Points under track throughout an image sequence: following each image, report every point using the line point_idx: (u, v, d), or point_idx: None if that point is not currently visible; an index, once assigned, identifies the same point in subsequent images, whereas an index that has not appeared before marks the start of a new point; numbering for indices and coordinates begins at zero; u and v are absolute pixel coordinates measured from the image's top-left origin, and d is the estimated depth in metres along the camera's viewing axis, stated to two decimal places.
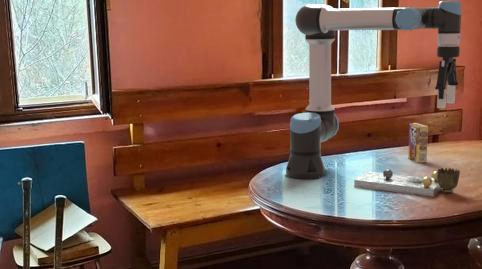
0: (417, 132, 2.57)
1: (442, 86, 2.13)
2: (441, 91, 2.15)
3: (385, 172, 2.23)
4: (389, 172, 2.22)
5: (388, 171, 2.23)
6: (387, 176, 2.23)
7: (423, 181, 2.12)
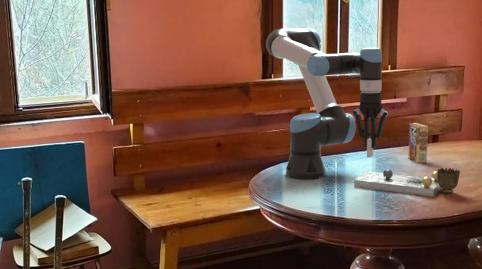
0: (417, 132, 2.57)
1: None
2: None
3: (385, 172, 2.23)
4: (389, 172, 2.22)
5: (388, 171, 2.23)
6: (387, 176, 2.23)
7: (423, 181, 2.12)
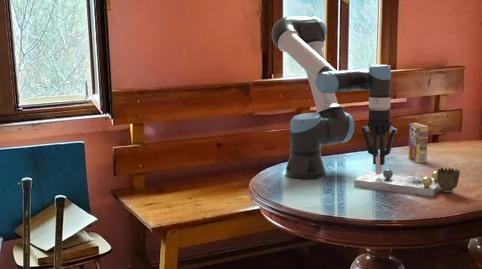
0: (417, 132, 2.57)
1: None
2: None
3: (385, 172, 2.23)
4: (389, 172, 2.22)
5: (388, 171, 2.23)
6: (387, 176, 2.23)
7: (423, 181, 2.12)
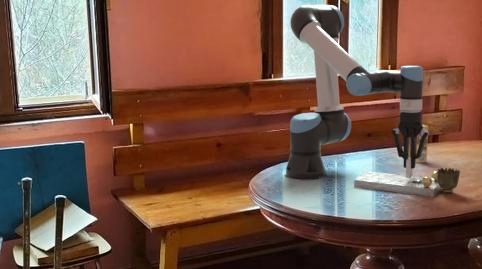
0: None
1: None
2: None
3: None
4: None
5: None
6: None
7: (423, 181, 2.12)
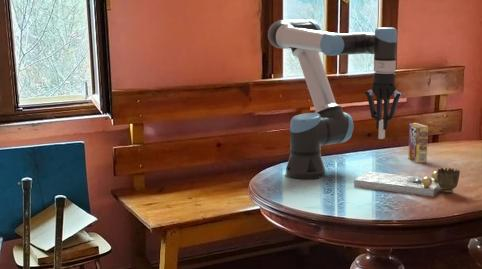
0: (417, 132, 2.57)
1: None
2: None
3: (417, 182, 2.18)
4: None
5: None
6: None
7: (423, 181, 2.12)
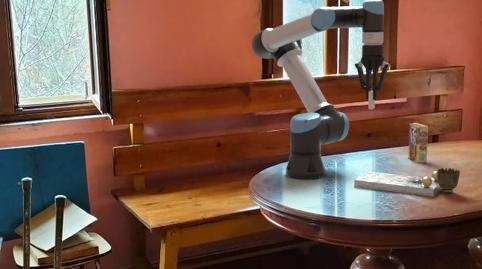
0: (417, 132, 2.57)
1: None
2: None
3: (418, 183, 2.18)
4: None
5: None
6: None
7: (423, 181, 2.12)
